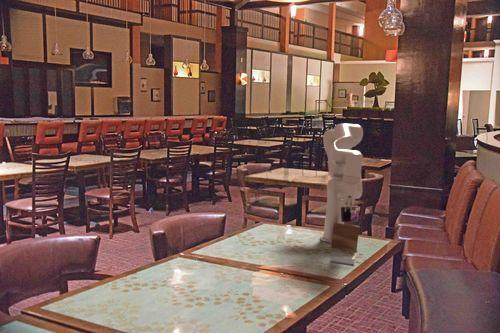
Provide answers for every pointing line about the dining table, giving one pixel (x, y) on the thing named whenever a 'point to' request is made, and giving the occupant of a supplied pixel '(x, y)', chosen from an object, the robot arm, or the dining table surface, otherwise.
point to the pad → (342, 260)
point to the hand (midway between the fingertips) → (347, 218)
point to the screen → (345, 237)
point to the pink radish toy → (351, 214)
